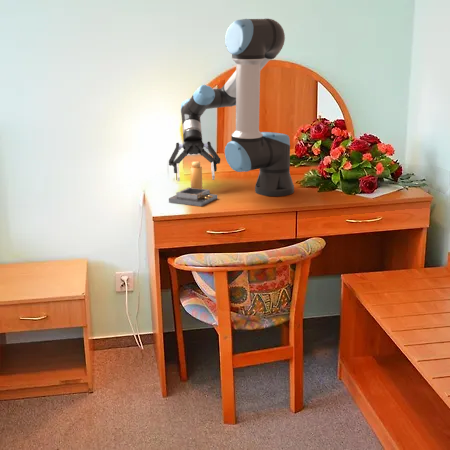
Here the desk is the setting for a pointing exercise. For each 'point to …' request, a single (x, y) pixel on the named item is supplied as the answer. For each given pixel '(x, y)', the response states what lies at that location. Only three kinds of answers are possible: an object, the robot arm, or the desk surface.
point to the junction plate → (193, 197)
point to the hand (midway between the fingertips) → (196, 178)
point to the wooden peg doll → (196, 175)
